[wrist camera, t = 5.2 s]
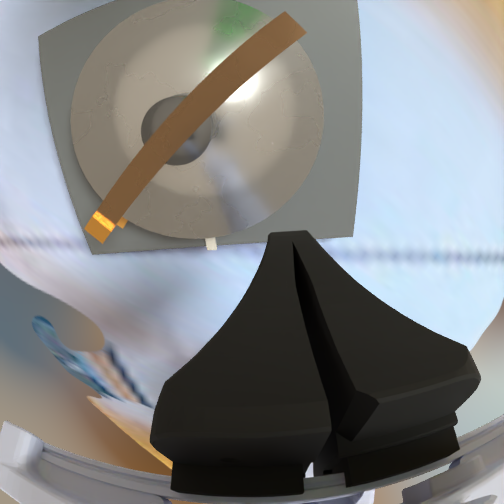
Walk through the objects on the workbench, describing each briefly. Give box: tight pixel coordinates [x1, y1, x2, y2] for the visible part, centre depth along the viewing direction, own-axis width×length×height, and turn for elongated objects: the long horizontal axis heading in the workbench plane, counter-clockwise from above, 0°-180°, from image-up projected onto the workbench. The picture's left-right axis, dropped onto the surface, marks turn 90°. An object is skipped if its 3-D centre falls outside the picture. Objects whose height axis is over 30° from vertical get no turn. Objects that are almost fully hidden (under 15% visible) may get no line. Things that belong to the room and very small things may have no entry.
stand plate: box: [38, 0, 362, 255], centre depth 14 cm, size 16×18×2 cm
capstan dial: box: [71, 0, 324, 244], centre depth 12 cm, size 13×13×4 cm
